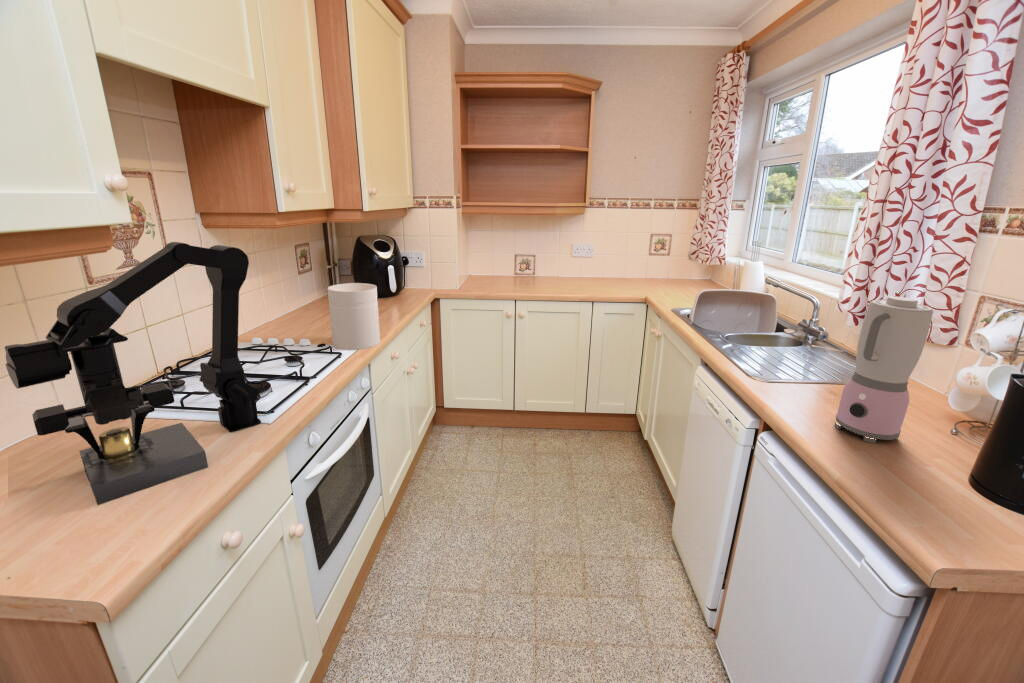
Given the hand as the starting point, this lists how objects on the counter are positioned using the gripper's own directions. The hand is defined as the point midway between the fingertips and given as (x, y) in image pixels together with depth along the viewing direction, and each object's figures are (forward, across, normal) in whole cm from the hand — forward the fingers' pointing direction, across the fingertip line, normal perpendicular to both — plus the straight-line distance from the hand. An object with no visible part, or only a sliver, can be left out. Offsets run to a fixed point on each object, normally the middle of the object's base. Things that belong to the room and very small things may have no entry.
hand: (118, 448), depth 85 cm
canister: (+4, +71, +41) cm, 82 cm away
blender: (+4, +120, -100) cm, 157 cm away
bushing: (+4, 0, 0) cm, 4 cm away
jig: (+4, +3, -3) cm, 6 cm away
